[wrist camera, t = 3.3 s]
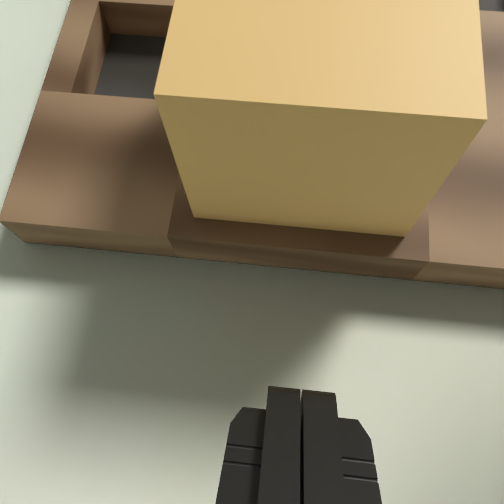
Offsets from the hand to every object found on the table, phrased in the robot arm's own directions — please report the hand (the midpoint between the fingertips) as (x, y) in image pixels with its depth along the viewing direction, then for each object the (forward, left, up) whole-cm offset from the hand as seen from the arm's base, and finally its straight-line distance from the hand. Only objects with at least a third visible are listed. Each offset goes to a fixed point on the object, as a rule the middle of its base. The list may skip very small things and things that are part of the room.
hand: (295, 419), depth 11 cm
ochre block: (-5, -11, -7) cm, 14 cm away
